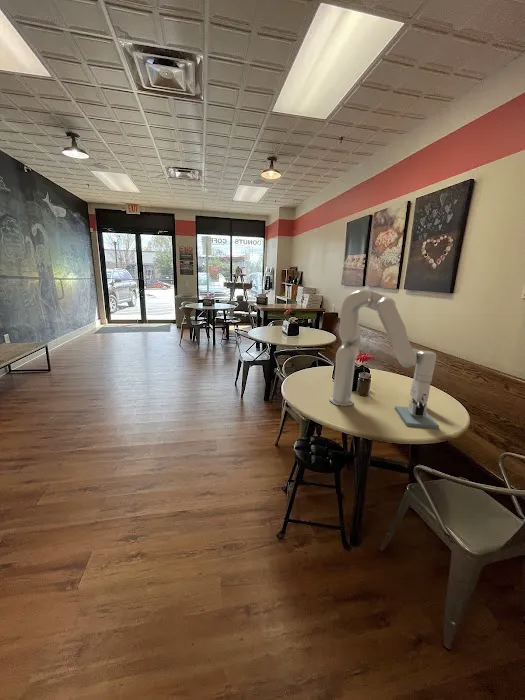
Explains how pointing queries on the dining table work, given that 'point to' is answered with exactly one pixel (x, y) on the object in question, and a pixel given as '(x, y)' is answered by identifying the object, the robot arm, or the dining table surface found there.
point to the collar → (414, 405)
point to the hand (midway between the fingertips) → (416, 411)
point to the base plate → (416, 419)
